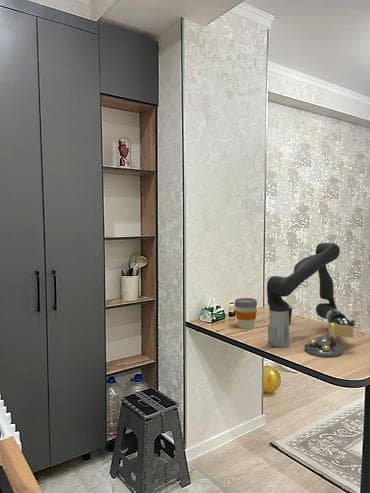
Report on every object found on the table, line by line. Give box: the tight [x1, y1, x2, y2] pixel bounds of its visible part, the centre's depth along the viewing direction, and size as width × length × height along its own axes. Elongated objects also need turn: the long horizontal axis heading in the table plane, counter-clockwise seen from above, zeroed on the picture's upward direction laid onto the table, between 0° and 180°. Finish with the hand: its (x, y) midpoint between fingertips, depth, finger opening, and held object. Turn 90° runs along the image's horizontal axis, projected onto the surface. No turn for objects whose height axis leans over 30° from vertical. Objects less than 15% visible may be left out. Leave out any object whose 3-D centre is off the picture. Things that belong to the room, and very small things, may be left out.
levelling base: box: [303, 335, 345, 358], centre depth 179 cm, size 17×17×6 cm
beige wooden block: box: [327, 322, 354, 347], centre depth 178 cm, size 11×4×10 cm, turn 52°
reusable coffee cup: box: [234, 297, 258, 330], centre depth 221 cm, size 13×13×15 cm
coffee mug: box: [289, 305, 293, 326], centre depth 226 cm, size 12×9×10 cm
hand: (348, 328), depth 177 cm, fingers closed
